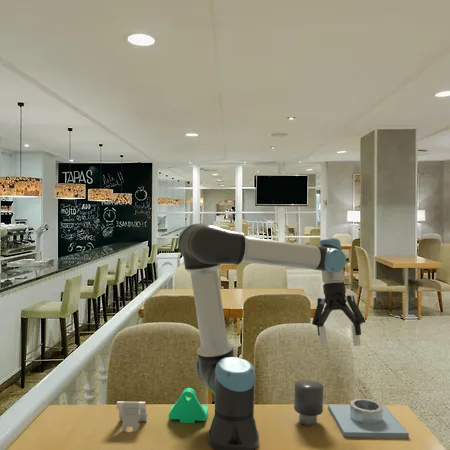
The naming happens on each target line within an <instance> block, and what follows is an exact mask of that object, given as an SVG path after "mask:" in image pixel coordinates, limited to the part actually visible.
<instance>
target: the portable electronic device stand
mask: <svg viewBox="0 0 450 450" xmlns="http://www.w3.org/2000/svg"><path fill="white" fill-rule="evenodd" d="M116 409H117V410H118V416H119V421H120V422H122V427H121V431H122V432H127V431H128V430H127V429H128V428H130V427H131V428H132V432H137V431H138V428H139V427H138V425H139V422H148V413H147V404H146V401H120V400H119V401H117V402H116Z"/></svg>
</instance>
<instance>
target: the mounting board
mask: <svg viewBox="0 0 450 450" xmlns="http://www.w3.org/2000/svg"><path fill="white" fill-rule="evenodd" d="M381 405H382V404H381ZM382 407H383V416H382V422H381V423H380V424H377V425H365V424H361V423H358V422H355V421H354V420H353V419H351V418H350V404H332V403H331V404H328V405H327V409H328V411H329V413H330V414H331V416H332V419H333V420H334V423H336V425H337V428H338V429H339V430H340V432H341V434H342V436H343V437H344V438H381V439H383V438H385V439H386V438H387V439H388V438H392V439H395V438H396V439H397V438H398V439H399V438H400V439H404V438H405V439H408V438H410V437H409V436H410V435H409V434H410V432H408V430H407V429H406V428H405V426H403V424H402V423H401V422H400V421H399V420H398V419H397V417H396V416H395V415H394V414H393V413H392V412H391V410H390V409H389V408H388V407H387V406H386V405H384V404H383V405H382Z"/></svg>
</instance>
